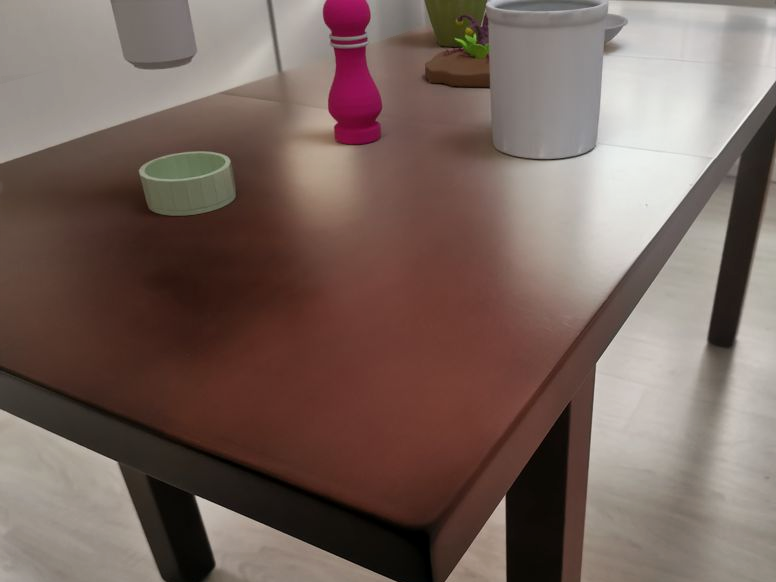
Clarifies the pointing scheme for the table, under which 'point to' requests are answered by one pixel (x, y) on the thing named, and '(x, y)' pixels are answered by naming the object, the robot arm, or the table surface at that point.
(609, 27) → the dish
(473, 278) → the table surface
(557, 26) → the utensil holder
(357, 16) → the pepper mill
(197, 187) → the ramekin
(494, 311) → the table surface
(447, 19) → the flower pot
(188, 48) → the can
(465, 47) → the plant
